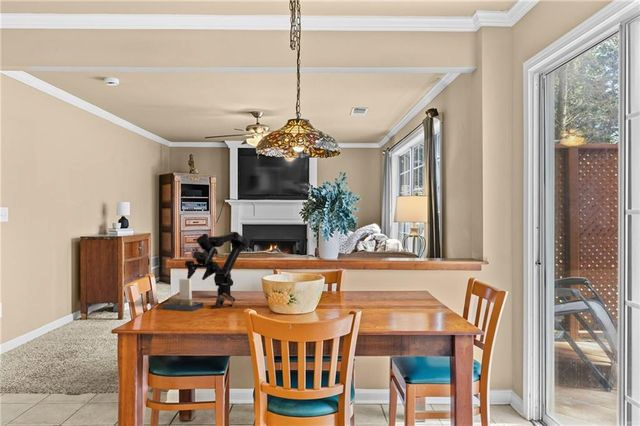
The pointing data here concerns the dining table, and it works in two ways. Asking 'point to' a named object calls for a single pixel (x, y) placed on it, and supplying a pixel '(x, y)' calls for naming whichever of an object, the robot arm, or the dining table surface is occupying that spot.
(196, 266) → the robot arm
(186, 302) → the offcut
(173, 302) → the offcut
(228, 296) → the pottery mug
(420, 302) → the dining table surface
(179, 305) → the plate
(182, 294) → the white upright block
